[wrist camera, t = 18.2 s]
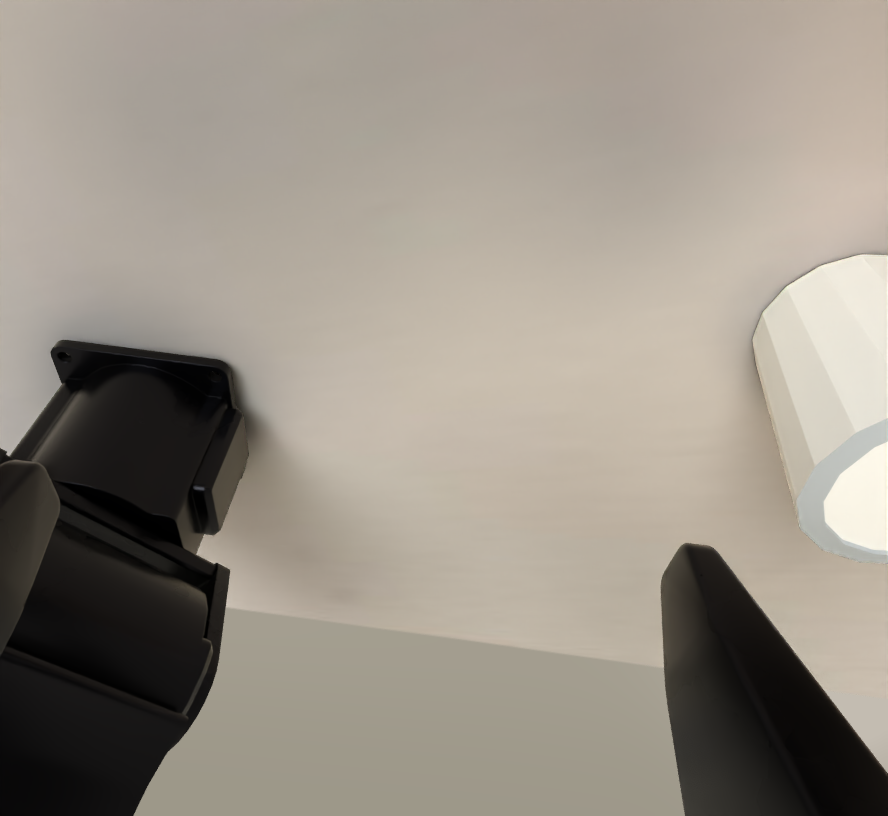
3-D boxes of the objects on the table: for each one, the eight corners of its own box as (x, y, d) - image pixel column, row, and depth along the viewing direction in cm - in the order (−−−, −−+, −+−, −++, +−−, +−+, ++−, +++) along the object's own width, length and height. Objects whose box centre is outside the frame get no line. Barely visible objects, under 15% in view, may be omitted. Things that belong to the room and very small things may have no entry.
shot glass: (1017, 259, 20) (1191, 424, 15) (874, 418, 25) (969, 584, 20) (802, 214, 19) (906, 368, 14) (697, 385, 24) (749, 546, 19)
